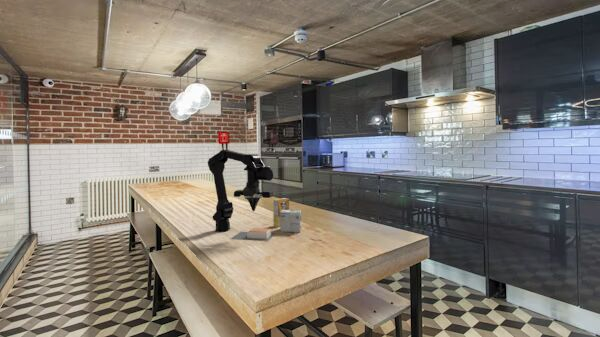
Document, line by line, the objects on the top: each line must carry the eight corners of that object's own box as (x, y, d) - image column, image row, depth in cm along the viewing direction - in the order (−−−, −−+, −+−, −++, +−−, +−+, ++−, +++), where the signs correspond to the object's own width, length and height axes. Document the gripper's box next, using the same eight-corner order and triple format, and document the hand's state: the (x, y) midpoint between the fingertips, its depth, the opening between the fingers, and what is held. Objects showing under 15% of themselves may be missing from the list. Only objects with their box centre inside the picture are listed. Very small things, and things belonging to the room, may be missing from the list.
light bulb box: (301, 229, 176) (301, 209, 175) (300, 232, 169) (300, 212, 168) (282, 229, 177) (281, 209, 176) (280, 232, 170) (279, 211, 170)
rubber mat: (229, 239, 157) (229, 239, 157) (241, 232, 171) (241, 231, 170) (267, 242, 153) (267, 241, 153) (276, 234, 167) (275, 233, 166)
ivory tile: (247, 231, 158) (266, 232, 156) (252, 227, 165) (271, 228, 163) (247, 237, 159) (266, 238, 157) (252, 234, 165) (271, 235, 163)
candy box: (284, 223, 188) (283, 197, 187) (289, 225, 186) (289, 198, 184) (273, 226, 182) (272, 199, 181) (278, 228, 179) (278, 200, 178)
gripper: (228, 181, 155) (229, 213, 156) (266, 181, 151) (266, 215, 152) (238, 178, 166) (238, 209, 167) (273, 179, 162) (273, 210, 163)
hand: (253, 210), depth 162 cm, fingers closed
